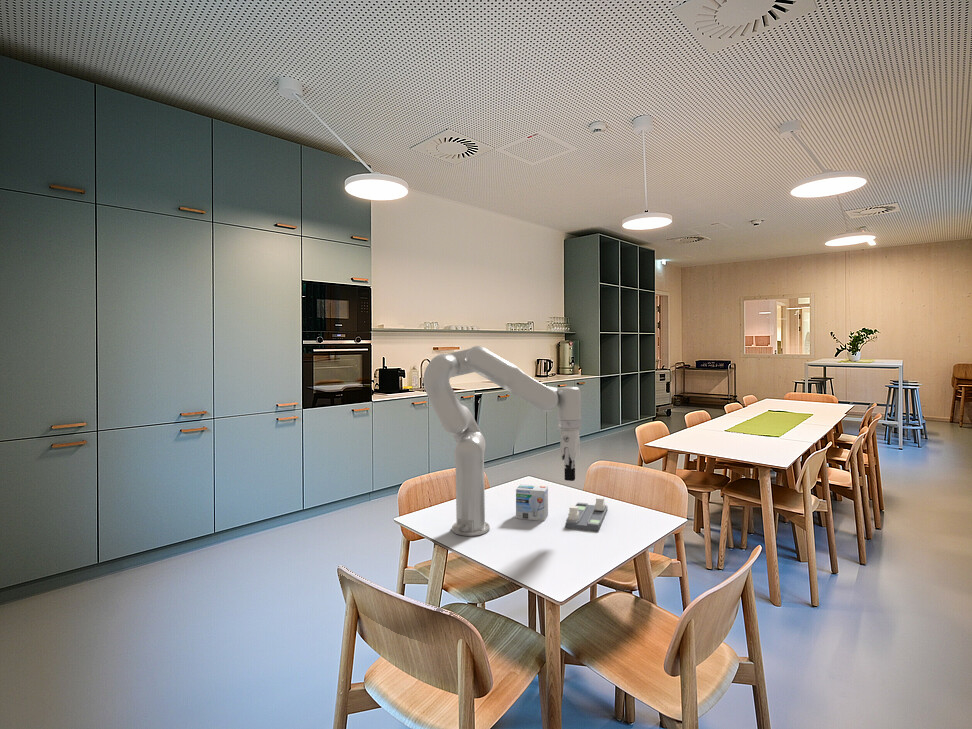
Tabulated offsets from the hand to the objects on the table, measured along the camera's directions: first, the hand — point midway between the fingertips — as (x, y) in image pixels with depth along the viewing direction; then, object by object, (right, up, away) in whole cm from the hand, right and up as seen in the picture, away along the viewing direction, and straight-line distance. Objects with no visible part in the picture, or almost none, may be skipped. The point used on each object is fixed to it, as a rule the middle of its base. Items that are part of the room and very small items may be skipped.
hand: (569, 479), depth 165 cm
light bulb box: (-11, -17, +15) cm, 25 cm away
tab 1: (+3, -15, +7) cm, 17 cm away
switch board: (+8, -17, +12) cm, 22 cm away
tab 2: (+14, -15, +17) cm, 26 cm away
